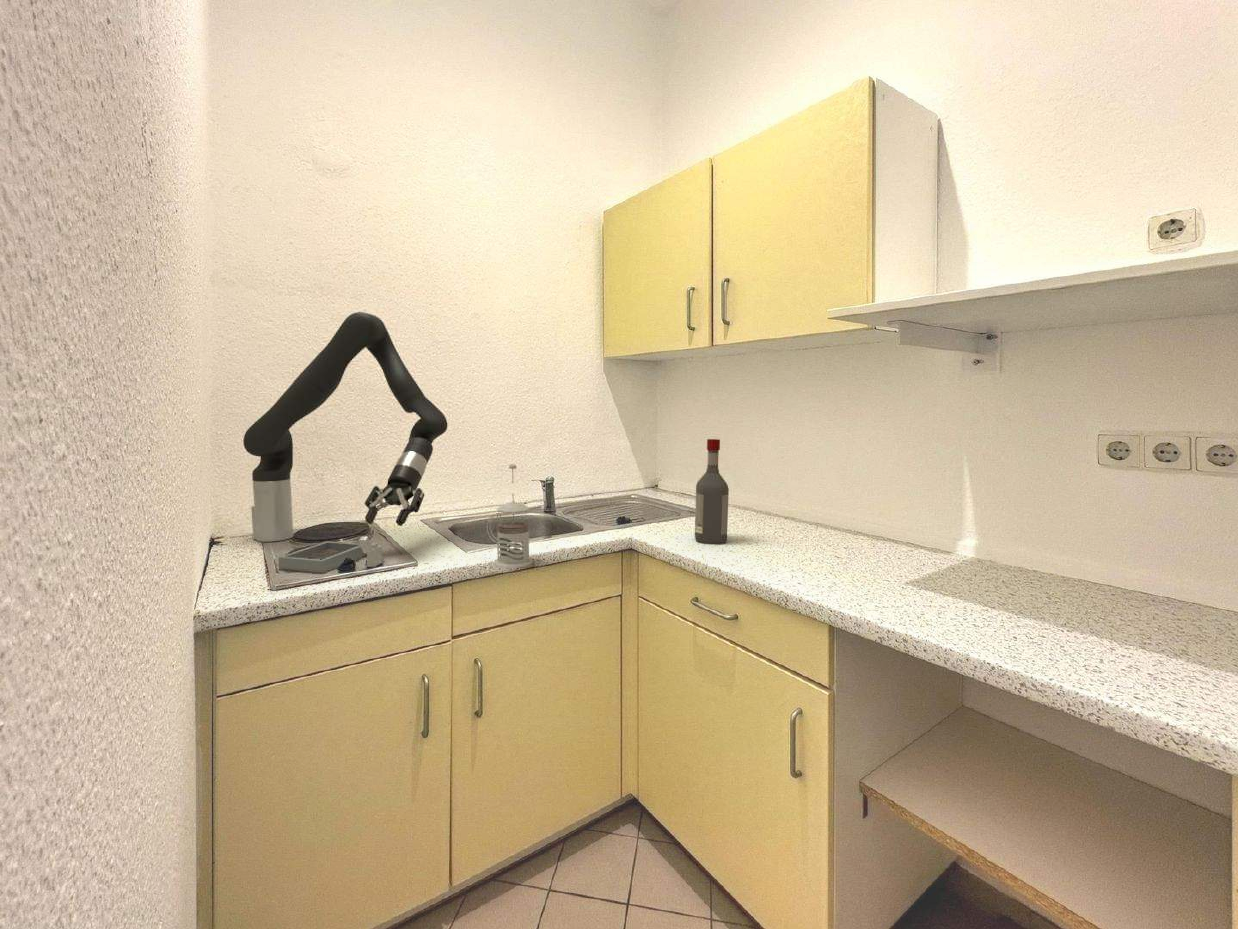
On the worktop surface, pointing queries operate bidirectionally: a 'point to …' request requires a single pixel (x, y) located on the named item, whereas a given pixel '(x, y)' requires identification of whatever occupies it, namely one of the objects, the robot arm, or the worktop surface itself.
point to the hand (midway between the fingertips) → (383, 523)
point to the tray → (302, 564)
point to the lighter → (371, 551)
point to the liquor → (711, 501)
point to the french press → (512, 536)
